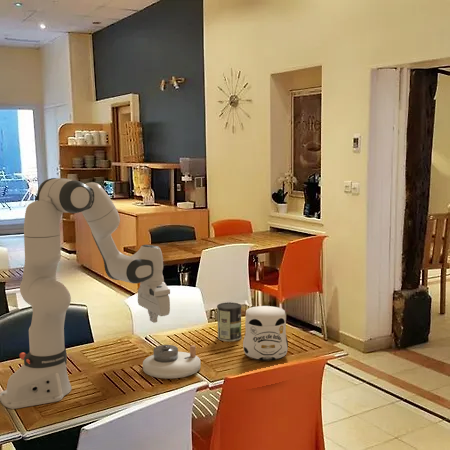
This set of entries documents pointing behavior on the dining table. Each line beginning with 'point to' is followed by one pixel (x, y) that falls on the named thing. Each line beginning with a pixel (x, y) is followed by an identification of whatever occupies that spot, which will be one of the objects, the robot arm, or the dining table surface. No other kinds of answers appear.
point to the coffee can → (229, 321)
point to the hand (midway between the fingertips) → (153, 321)
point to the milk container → (265, 333)
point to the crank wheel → (173, 365)
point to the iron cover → (165, 353)
